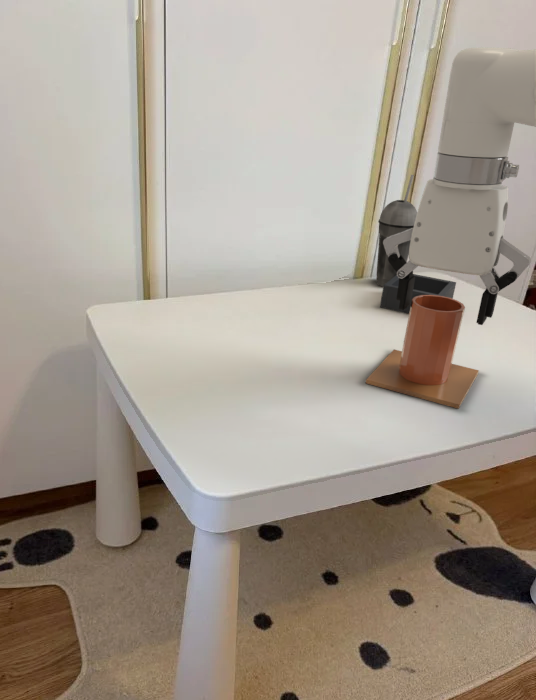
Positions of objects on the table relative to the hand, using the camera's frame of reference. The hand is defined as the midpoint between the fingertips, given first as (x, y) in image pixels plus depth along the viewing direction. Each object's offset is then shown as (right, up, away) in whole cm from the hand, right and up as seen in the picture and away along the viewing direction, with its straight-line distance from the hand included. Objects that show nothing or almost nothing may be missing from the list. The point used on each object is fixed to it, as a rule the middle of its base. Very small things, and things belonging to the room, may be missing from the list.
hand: (442, 313), depth 80 cm
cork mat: (-1, -8, +5) cm, 9 cm away
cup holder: (+6, +6, +31) cm, 32 cm away
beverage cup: (+3, +11, +41) cm, 43 cm away
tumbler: (-1, -7, +4) cm, 9 cm away
